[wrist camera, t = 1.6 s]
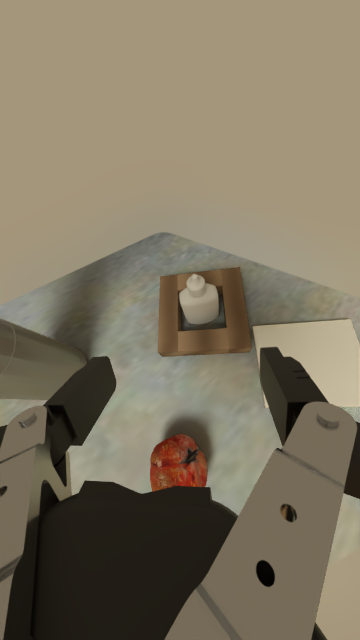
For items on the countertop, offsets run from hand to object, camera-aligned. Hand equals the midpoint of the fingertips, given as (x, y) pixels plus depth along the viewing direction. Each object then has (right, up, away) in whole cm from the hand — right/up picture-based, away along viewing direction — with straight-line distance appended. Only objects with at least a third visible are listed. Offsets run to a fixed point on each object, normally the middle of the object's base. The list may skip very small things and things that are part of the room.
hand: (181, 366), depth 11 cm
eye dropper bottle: (+4, +3, +25) cm, 26 cm away
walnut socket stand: (+4, +3, +25) cm, 26 cm away
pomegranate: (0, -17, +18) cm, 25 cm away
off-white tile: (+19, -4, +19) cm, 27 cm away
